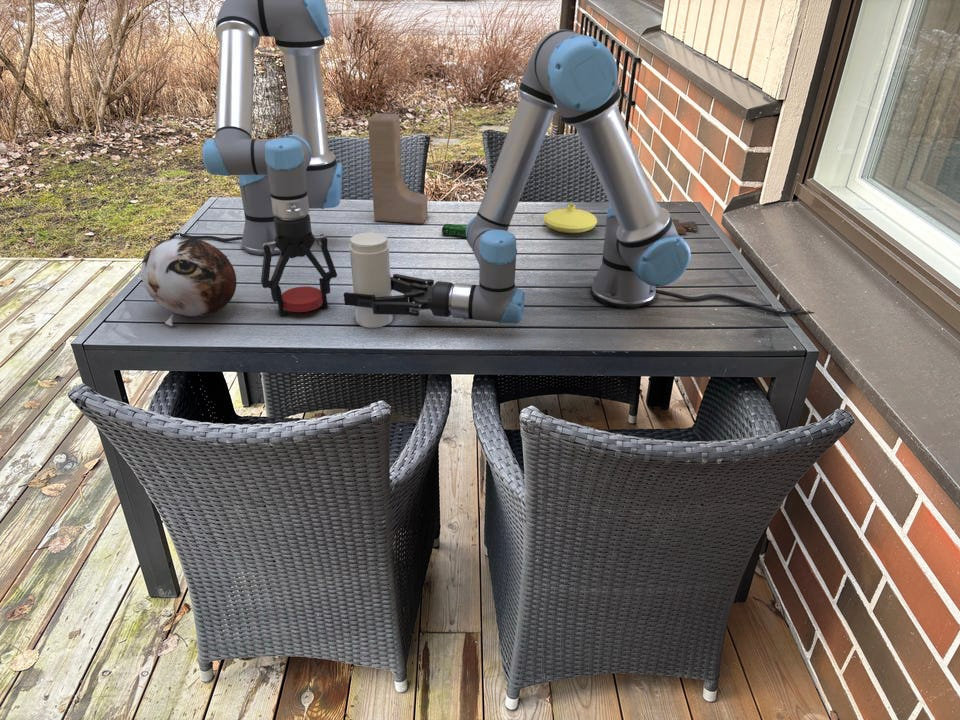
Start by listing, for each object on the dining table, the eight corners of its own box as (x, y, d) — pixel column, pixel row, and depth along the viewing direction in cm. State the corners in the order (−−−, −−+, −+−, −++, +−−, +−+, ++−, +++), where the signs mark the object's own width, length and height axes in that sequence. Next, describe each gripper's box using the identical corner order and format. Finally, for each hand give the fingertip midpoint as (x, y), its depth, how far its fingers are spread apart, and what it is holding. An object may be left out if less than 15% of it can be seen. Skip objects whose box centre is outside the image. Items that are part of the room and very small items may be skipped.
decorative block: (423, 224, 212) (420, 120, 197) (373, 221, 214) (367, 118, 199) (428, 216, 219) (425, 114, 203) (380, 213, 220) (374, 112, 205)
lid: (278, 312, 158) (277, 304, 157) (285, 294, 166) (283, 286, 165) (320, 311, 159) (320, 303, 158) (325, 293, 167) (324, 285, 166)
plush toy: (103, 301, 154) (138, 216, 155) (170, 324, 169) (201, 246, 171) (169, 326, 143) (206, 234, 145) (233, 348, 159) (266, 265, 160)
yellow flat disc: (559, 216, 220) (561, 193, 217) (605, 227, 212) (608, 204, 209) (532, 230, 209) (533, 207, 206) (580, 242, 201) (582, 218, 198)
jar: (355, 328, 156) (348, 246, 146) (356, 311, 163) (349, 232, 153) (393, 326, 157) (389, 245, 147) (392, 309, 164) (388, 230, 154)
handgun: (511, 219, 210) (493, 234, 198) (511, 228, 211) (492, 244, 199) (461, 212, 215) (440, 226, 203) (461, 221, 217) (440, 236, 204)
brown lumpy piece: (700, 236, 208) (693, 224, 217) (701, 230, 207) (694, 219, 216) (612, 233, 208) (607, 221, 217) (613, 227, 207) (608, 216, 216)
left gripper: (240, 227, 145) (256, 325, 157) (346, 214, 153) (354, 308, 164) (236, 215, 151) (252, 310, 163) (338, 203, 159) (346, 295, 170)
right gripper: (440, 338, 147) (336, 326, 151) (462, 295, 165) (368, 285, 168) (440, 305, 143) (332, 294, 147) (462, 264, 161) (366, 256, 165)
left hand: (303, 309), depth 163 cm, fingers closed on lid, 9 cm apart
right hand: (352, 289), depth 158 cm, fingers closed on jar, 8 cm apart
